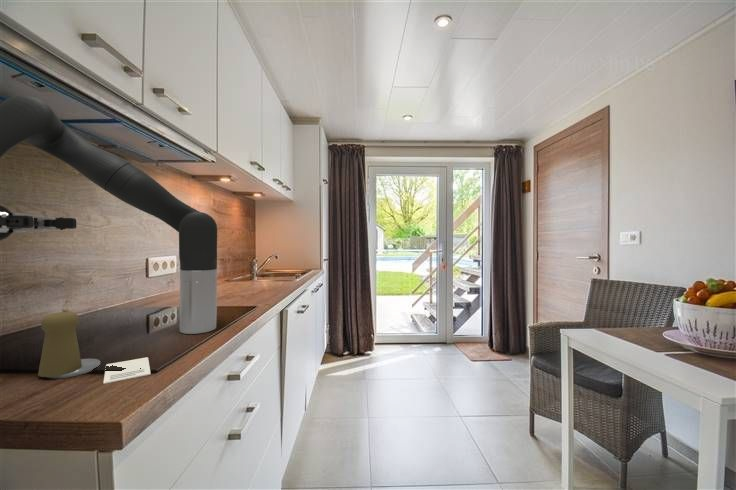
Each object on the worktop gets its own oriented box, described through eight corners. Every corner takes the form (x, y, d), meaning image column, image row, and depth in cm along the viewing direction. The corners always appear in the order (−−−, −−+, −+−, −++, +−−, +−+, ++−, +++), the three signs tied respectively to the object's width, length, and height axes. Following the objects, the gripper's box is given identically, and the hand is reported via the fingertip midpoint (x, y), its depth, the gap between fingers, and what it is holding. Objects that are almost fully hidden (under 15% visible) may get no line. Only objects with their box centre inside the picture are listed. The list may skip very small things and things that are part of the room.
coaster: (49, 367, 63) (49, 364, 63) (101, 358, 68) (101, 355, 68) (40, 382, 57) (40, 379, 57) (98, 371, 62) (98, 368, 62)
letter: (106, 365, 65) (106, 364, 65) (148, 357, 69) (148, 356, 69) (103, 384, 57) (103, 382, 57) (150, 374, 61) (150, 373, 61)
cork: (32, 372, 59) (32, 314, 59) (74, 361, 65) (74, 308, 64) (45, 379, 56) (44, 318, 56) (87, 367, 62) (87, 312, 61)
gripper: (-81, 199, 55) (13, 199, 55) (12, 206, 69) (86, 206, 69) (-79, 242, 55) (14, 242, 55) (13, 240, 69) (87, 241, 69)
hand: (54, 222), depth 62 cm, fingers open, 8 cm apart
